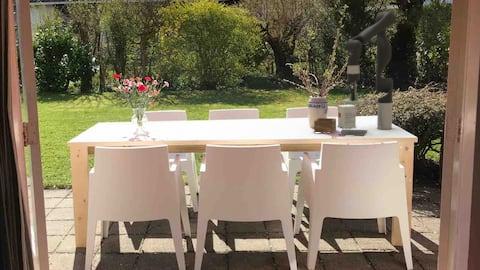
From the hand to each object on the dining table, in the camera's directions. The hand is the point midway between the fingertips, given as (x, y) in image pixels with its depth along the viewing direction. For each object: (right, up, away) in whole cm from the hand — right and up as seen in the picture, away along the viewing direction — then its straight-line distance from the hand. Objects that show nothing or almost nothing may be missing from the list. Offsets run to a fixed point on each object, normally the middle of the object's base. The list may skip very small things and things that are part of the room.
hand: (353, 100), depth 319 cm
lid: (0, -2, 0) cm, 2 cm away
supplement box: (+1, -17, +26) cm, 31 cm away
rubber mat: (+1, -21, +4) cm, 21 cm away
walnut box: (-16, -20, +12) cm, 28 cm away
